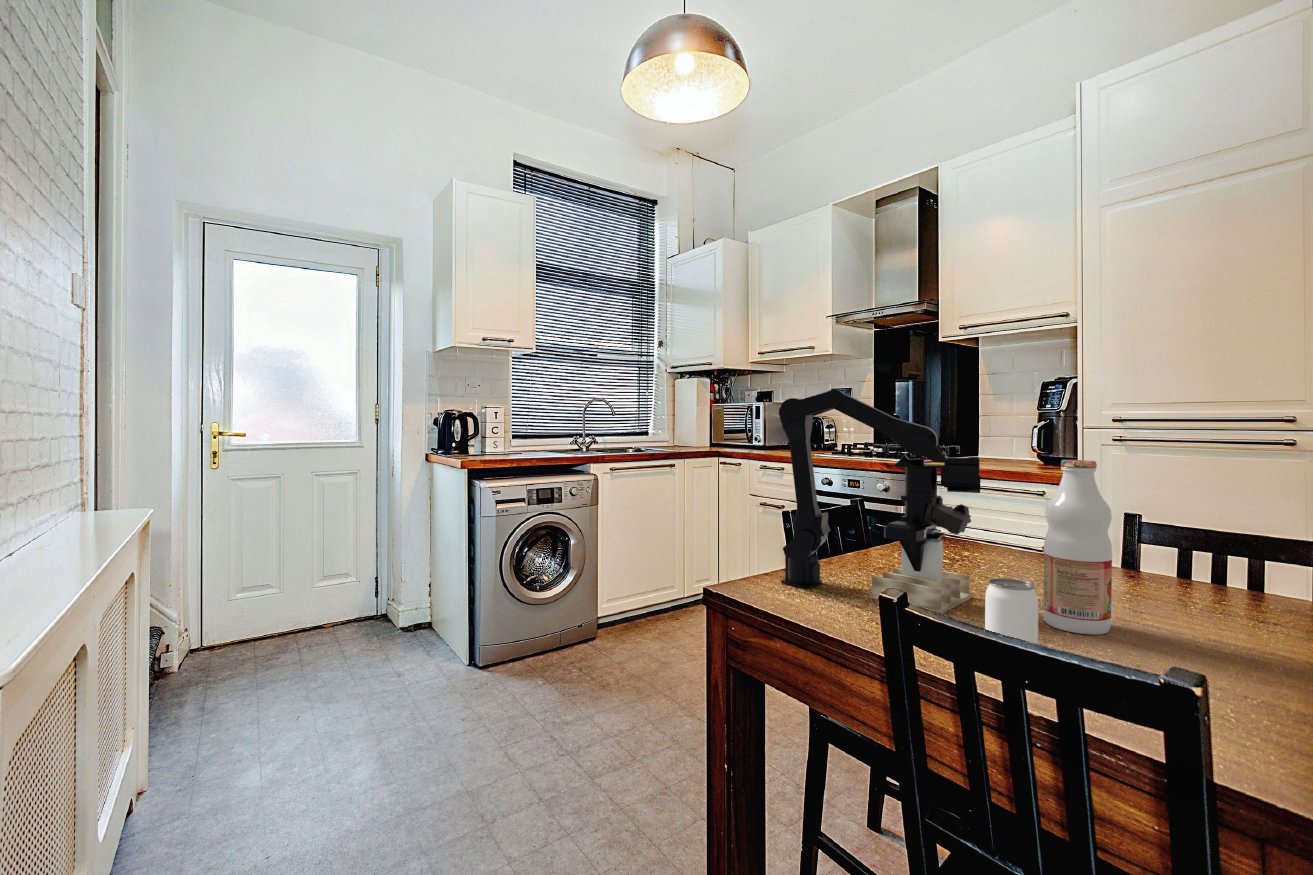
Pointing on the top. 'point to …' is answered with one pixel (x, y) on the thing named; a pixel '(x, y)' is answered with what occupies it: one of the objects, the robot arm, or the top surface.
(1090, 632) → the fruit juice
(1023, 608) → the can
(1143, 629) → the top surface
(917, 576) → the grey upright domino
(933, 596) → the rack
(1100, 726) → the top surface
